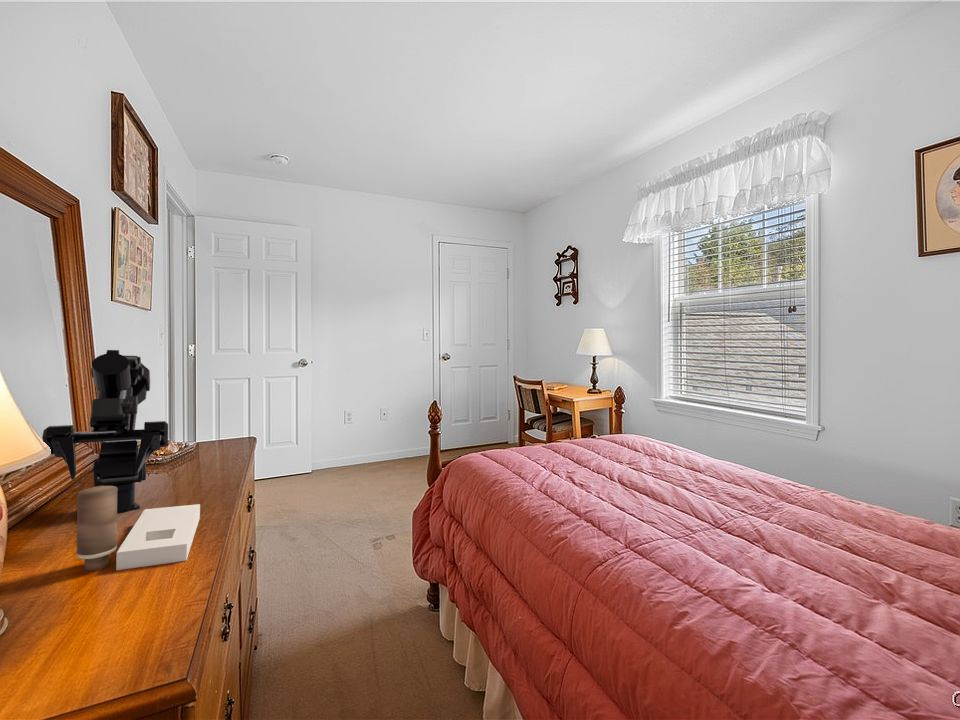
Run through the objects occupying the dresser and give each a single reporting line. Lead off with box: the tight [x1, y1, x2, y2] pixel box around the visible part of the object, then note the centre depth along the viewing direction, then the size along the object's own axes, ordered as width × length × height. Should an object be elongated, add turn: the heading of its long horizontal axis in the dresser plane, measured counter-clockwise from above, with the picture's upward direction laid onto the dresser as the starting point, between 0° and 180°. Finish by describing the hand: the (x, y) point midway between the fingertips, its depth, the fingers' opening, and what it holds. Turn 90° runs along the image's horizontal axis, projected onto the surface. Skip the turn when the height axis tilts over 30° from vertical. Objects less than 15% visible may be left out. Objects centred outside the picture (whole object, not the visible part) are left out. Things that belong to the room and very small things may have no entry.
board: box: [115, 503, 201, 571], centre depth 90 cm, size 22×10×3 cm, turn 26°
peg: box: [75, 486, 118, 572], centre depth 79 cm, size 5×5×13 cm
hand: (105, 475), depth 86 cm, fingers open, 9 cm apart
